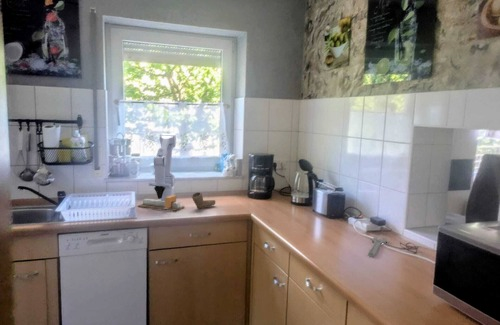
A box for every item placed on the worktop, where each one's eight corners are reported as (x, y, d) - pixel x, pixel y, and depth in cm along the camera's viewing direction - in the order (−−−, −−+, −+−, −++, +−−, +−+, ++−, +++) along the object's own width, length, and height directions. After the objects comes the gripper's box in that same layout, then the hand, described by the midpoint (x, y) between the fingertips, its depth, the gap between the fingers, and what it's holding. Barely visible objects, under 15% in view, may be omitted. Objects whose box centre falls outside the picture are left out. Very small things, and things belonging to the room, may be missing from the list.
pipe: (218, 206, 216) (218, 191, 215) (195, 211, 205) (195, 194, 203) (211, 204, 220) (212, 189, 219) (189, 208, 209) (189, 192, 208)
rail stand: (138, 206, 209) (138, 200, 209) (147, 203, 219) (147, 197, 218) (175, 211, 201) (175, 204, 201) (184, 207, 211) (184, 201, 210)
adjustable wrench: (373, 259, 140) (374, 255, 140) (358, 255, 144) (358, 251, 144) (388, 242, 161) (388, 238, 161) (374, 239, 164) (374, 235, 164)
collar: (164, 207, 205) (164, 197, 204) (171, 204, 212) (171, 195, 211) (169, 208, 204) (169, 198, 203) (176, 205, 211) (176, 195, 210)
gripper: (145, 176, 207) (145, 198, 208) (166, 178, 202) (166, 200, 204) (152, 174, 213) (152, 196, 215) (173, 176, 209) (173, 198, 210)
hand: (159, 198), depth 210 cm, fingers closed
